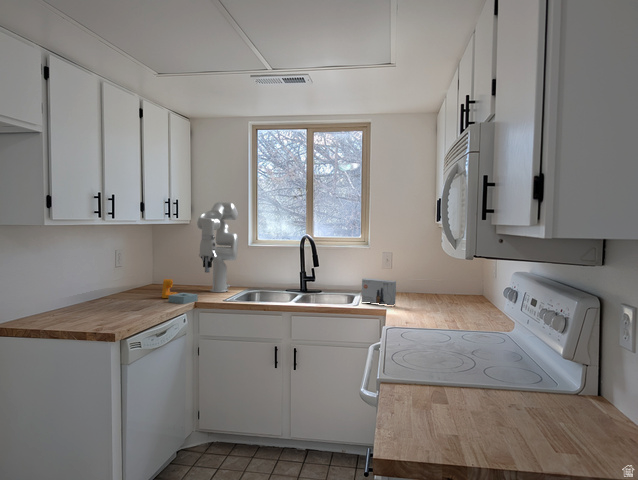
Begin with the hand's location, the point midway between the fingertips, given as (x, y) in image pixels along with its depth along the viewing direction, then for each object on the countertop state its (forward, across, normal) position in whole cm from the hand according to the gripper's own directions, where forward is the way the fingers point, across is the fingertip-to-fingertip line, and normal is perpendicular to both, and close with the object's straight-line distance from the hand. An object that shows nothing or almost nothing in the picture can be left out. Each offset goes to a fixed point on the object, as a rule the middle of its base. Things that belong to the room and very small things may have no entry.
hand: (207, 267), depth 267 cm
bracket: (+21, +25, +6) cm, 33 cm away
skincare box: (+21, -97, -47) cm, 110 cm away
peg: (+3, 0, 0) cm, 3 cm away
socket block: (+21, +9, +11) cm, 25 cm away
